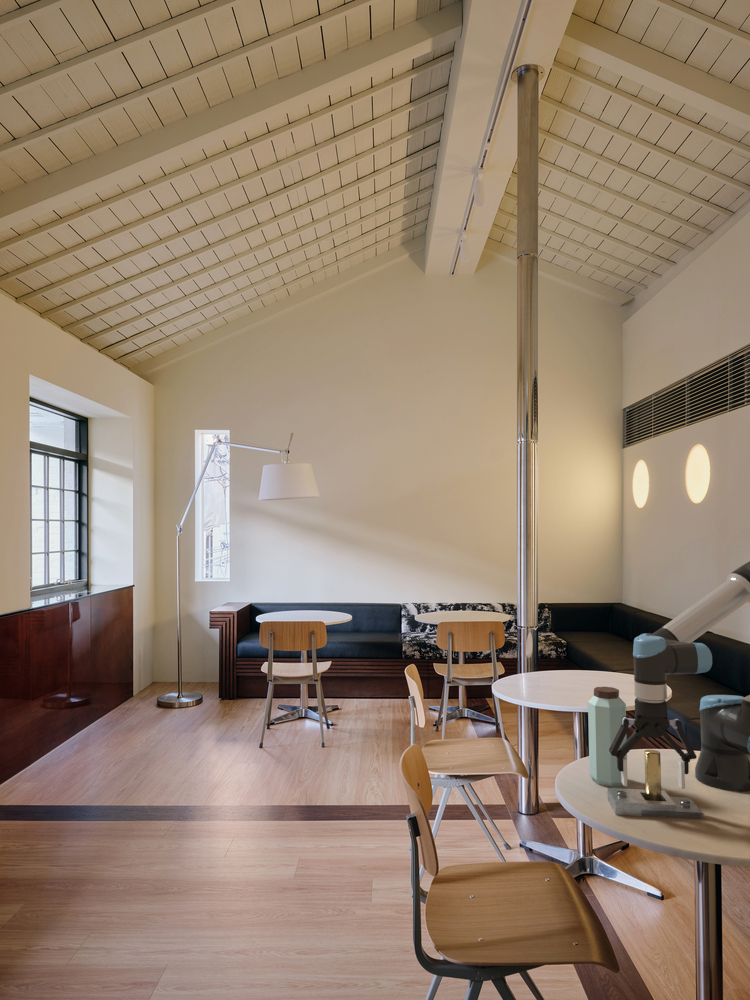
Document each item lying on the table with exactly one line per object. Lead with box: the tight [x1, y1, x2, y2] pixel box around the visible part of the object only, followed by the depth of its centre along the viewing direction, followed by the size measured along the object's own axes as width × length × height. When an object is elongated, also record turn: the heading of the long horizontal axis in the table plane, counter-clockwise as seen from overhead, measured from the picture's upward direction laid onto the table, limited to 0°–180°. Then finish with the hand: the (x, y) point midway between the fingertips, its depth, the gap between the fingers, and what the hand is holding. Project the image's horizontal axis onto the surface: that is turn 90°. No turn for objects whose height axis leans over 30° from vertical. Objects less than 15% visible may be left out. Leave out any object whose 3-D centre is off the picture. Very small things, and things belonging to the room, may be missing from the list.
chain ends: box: [607, 787, 703, 820], centre depth 163 cm, size 20×9×4 cm, turn 82°
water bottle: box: [587, 686, 628, 787], centre depth 182 cm, size 10×10×25 cm
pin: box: [644, 749, 662, 801], centre depth 163 cm, size 4×4×14 cm
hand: (652, 785), depth 163 cm, fingers open, 13 cm apart
